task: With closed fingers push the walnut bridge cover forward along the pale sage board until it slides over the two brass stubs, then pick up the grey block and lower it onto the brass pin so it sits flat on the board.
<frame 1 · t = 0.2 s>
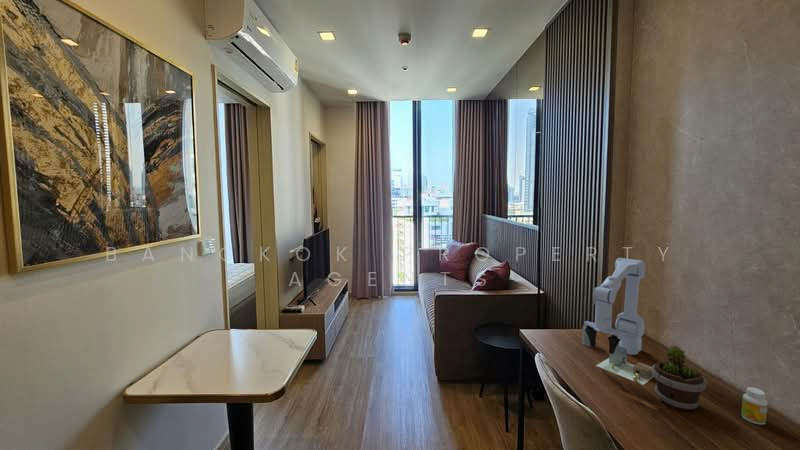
hand: (602, 349, 133), 10 cm above the table, fingers open, 7 cm apart
grey block: (617, 362, 139), point 1 cm above the table, touching base
cover: (643, 370, 129), point 3 cm above the table, slide at 0.0 cm
grey cylinder: (587, 346, 156), on the table
supplement bottle: (753, 419, 105), on the table
stubs: (636, 382, 126), resting on base
base: (625, 372, 133), on the table
flowerpot: (676, 402, 114), on the table
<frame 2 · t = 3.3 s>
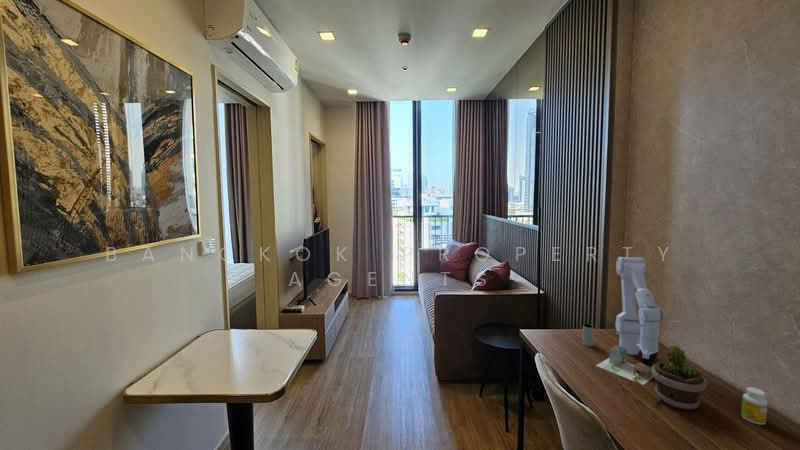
hand: (647, 369, 131), 2 cm above the table, fingers closed
cover: (643, 370, 129), point 3 cm above the table, slide at 0.1 cm, touching gripper
everything else where it was.
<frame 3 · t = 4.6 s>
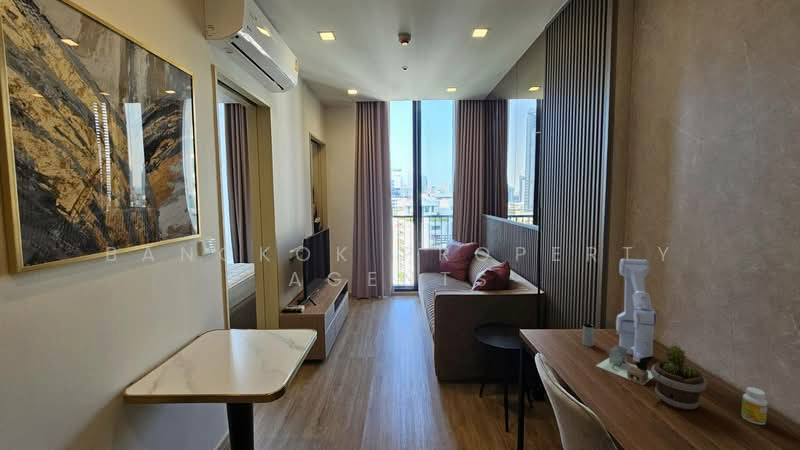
hand: (641, 373, 129), 2 cm above the table, fingers closed
cover: (637, 374, 126), point 3 cm above the table, slide at 5.0 cm, touching gripper
everything else where it was.
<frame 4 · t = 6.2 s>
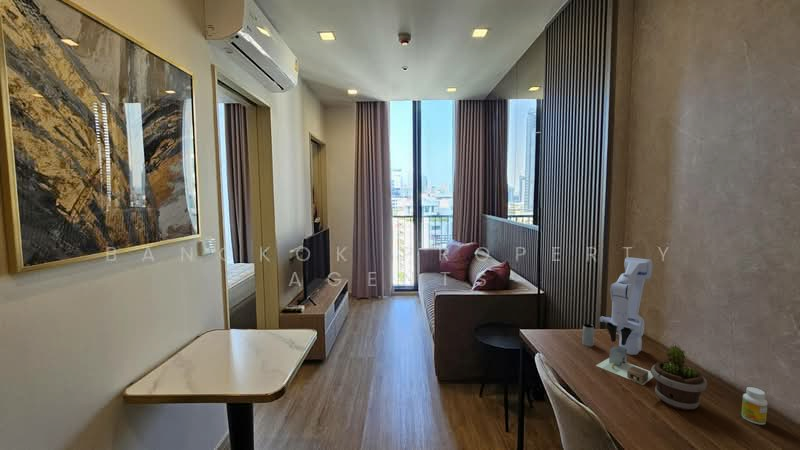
hand: (618, 342, 138), 10 cm above the table, fingers open, 3 cm apart
cover: (637, 374, 126), point 3 cm above the table, slide at 5.0 cm
everything else where it was.
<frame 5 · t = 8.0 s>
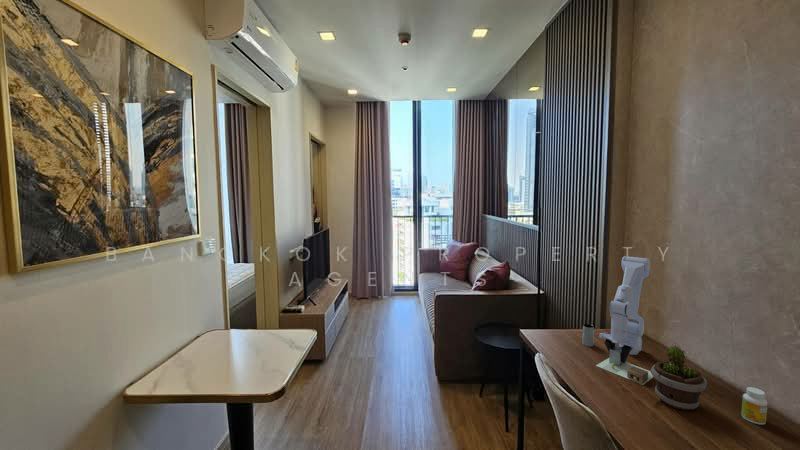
hand: (617, 359, 139), 2 cm above the table, fingers closed on grey block, 4 cm apart
grey block: (617, 362, 139), point 1 cm above the table, touching base, gripper
everything else where it was.
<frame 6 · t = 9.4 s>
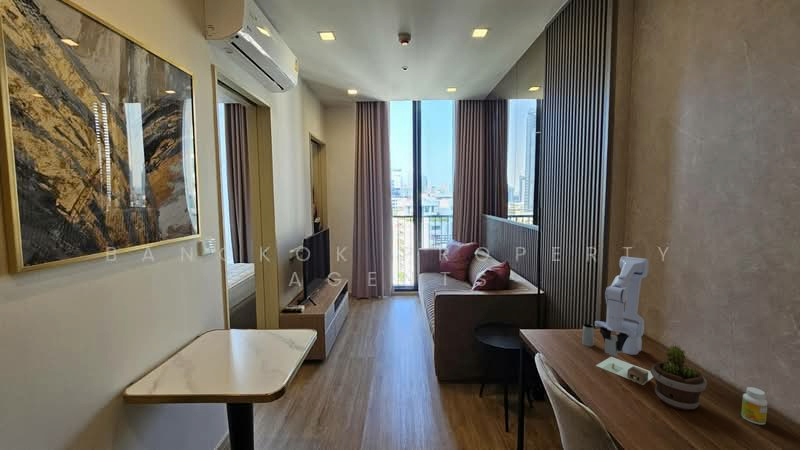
hand: (613, 348, 134), 10 cm above the table, fingers closed on grey block, 4 cm apart
grey block: (613, 352, 134), point 8 cm above the table, touching gripper
everything else where it was.
when the fingers open (3 cm above the table, at t = 10.9 s): grey block stays where it is, resting on base.
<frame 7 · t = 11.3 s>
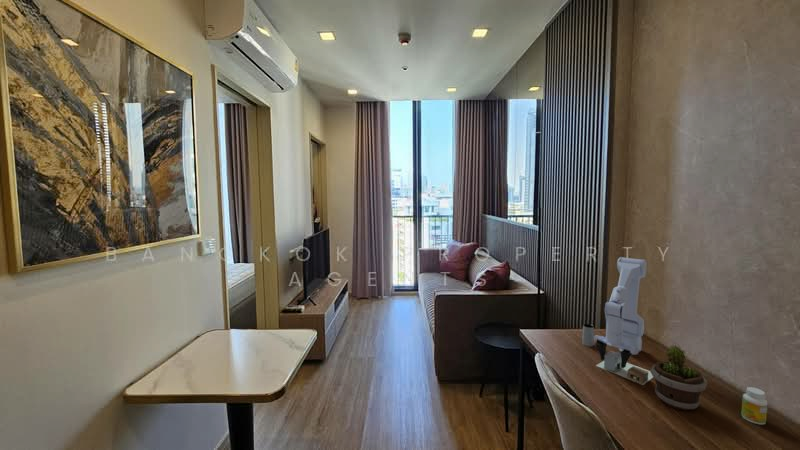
hand: (613, 363, 134), 3 cm above the table, fingers open, 7 cm apart
grey block: (612, 368, 134), point 1 cm above the table, touching base
everything else where it was.
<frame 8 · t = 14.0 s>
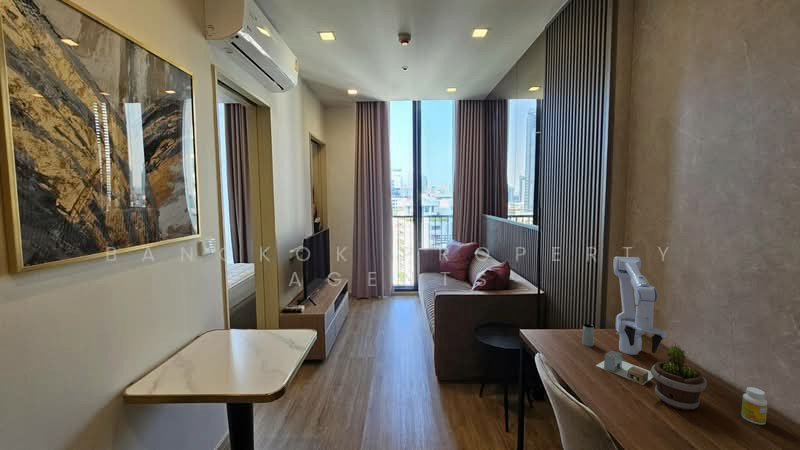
hand: (642, 348, 132), 10 cm above the table, fingers open, 7 cm apart
nothing on the table moved.
at the end: grey block 0.0 cm from the target spot on the base, point 1.2 cm above the base's base; grey block tilted 0°; cover slide at 5.0 cm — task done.
